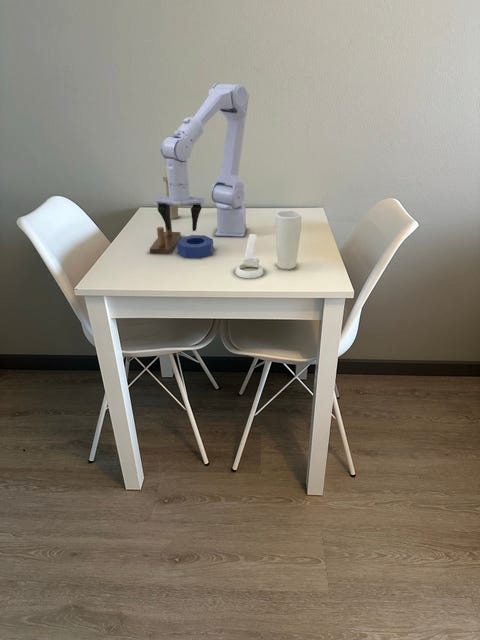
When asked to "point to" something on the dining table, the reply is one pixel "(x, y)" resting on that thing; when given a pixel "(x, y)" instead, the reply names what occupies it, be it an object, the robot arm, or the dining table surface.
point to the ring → (195, 246)
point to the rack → (165, 241)
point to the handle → (172, 207)
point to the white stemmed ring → (250, 260)
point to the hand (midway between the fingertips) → (181, 229)
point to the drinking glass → (287, 237)
